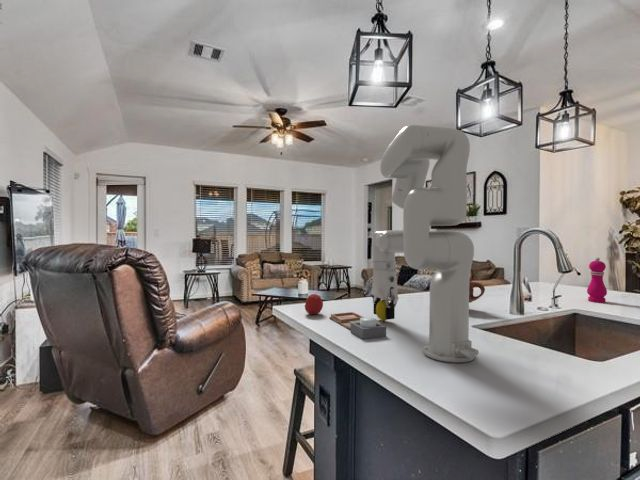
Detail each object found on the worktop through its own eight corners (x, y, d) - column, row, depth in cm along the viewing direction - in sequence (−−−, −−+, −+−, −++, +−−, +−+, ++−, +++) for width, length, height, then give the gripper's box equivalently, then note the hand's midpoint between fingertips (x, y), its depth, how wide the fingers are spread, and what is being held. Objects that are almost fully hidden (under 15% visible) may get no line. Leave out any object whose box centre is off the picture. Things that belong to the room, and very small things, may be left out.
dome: (379, 333, 111) (379, 320, 111) (364, 335, 109) (364, 321, 109) (371, 329, 116) (371, 316, 115) (357, 331, 114) (357, 318, 114)
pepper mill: (582, 300, 167) (583, 256, 167) (594, 299, 170) (595, 256, 169) (599, 303, 160) (599, 258, 160) (610, 302, 163) (611, 257, 162)
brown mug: (488, 310, 147) (489, 275, 147) (481, 315, 137) (481, 278, 137) (439, 304, 159) (439, 272, 159) (429, 308, 149) (429, 274, 149)
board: (380, 328, 119) (380, 323, 119) (353, 331, 115) (353, 326, 115) (354, 316, 136) (354, 311, 136) (329, 318, 132) (329, 314, 132)
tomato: (325, 292, 139) (306, 287, 141) (318, 307, 133) (298, 302, 135) (325, 305, 144) (307, 300, 146) (319, 321, 139) (300, 315, 141)
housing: (386, 336, 110) (386, 326, 110) (362, 339, 107) (362, 329, 107) (372, 329, 117) (372, 320, 117) (350, 332, 114) (350, 322, 114)
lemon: (391, 323, 125) (391, 300, 125) (375, 323, 126) (375, 300, 126) (391, 320, 130) (391, 297, 130) (376, 319, 132) (376, 297, 131)
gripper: (407, 268, 121) (407, 321, 122) (380, 263, 137) (380, 310, 138) (388, 269, 118) (388, 323, 119) (362, 264, 134) (362, 312, 135)
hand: (383, 316), depth 128 cm, fingers open, 7 cm apart
